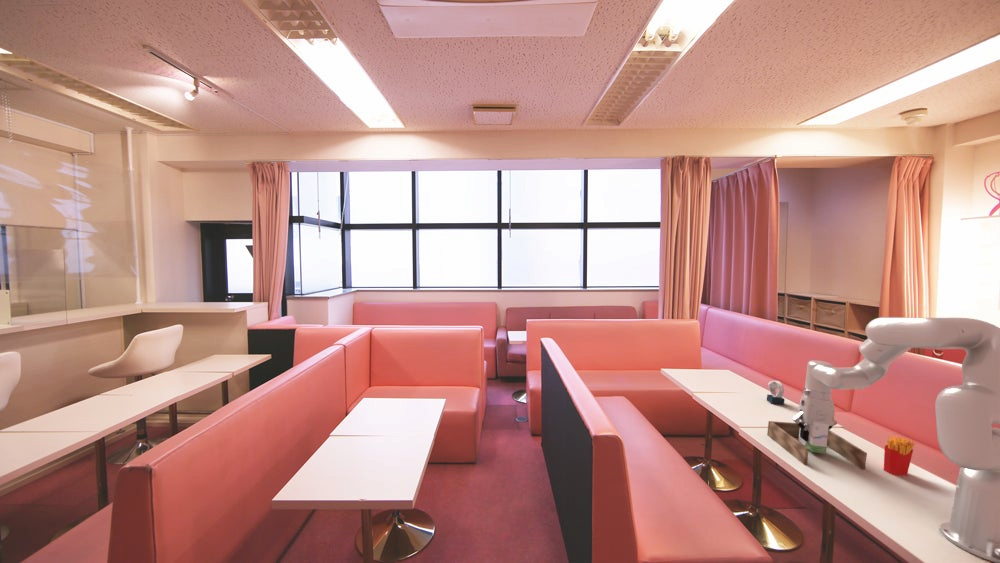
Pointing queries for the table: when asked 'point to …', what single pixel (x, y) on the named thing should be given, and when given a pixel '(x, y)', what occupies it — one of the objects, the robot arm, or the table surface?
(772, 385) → the watch
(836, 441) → the brown wooden angled piece
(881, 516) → the table surface
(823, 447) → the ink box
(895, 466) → the french fries
